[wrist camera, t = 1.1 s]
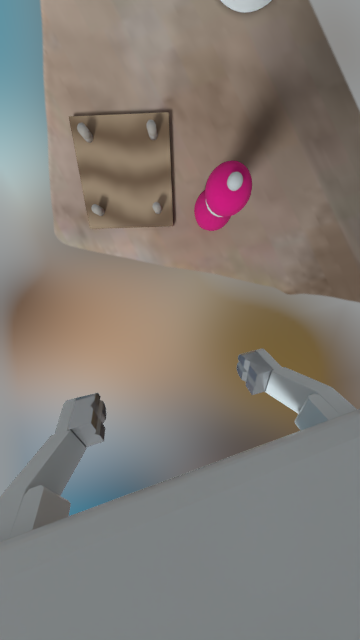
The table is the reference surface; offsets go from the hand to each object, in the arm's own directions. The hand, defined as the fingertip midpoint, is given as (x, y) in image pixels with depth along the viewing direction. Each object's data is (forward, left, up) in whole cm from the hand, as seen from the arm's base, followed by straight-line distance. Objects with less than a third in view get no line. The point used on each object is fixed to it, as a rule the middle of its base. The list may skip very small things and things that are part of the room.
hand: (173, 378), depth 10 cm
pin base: (-21, -10, -36) cm, 43 cm away
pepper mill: (-14, +7, -36) cm, 39 cm away
